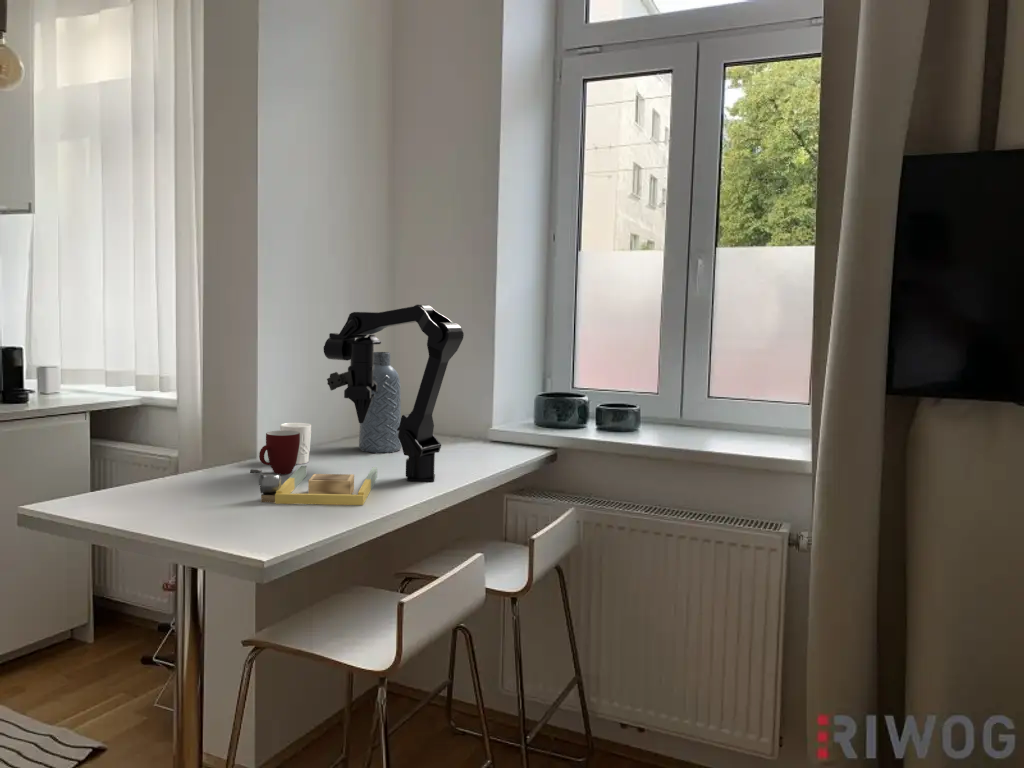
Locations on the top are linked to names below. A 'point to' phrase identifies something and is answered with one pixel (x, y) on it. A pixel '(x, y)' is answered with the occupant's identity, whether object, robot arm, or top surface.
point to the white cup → (304, 439)
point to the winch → (268, 485)
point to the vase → (382, 409)
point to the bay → (287, 497)
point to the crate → (331, 484)
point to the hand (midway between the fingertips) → (361, 422)
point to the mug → (281, 450)
